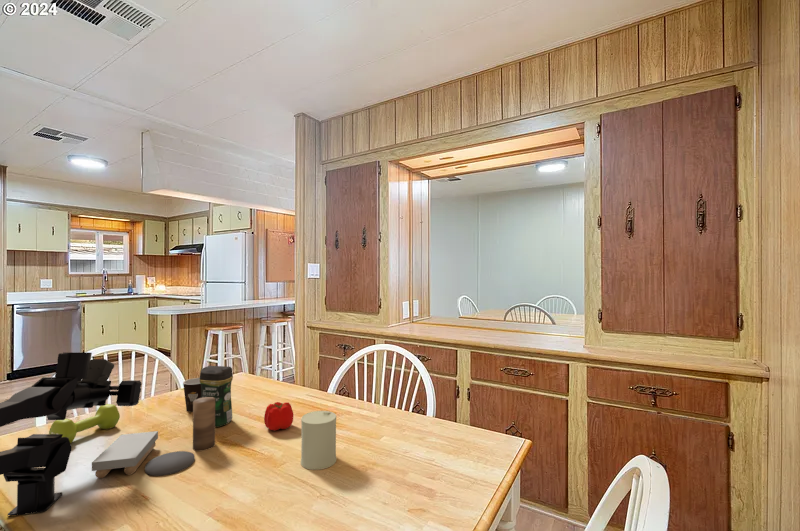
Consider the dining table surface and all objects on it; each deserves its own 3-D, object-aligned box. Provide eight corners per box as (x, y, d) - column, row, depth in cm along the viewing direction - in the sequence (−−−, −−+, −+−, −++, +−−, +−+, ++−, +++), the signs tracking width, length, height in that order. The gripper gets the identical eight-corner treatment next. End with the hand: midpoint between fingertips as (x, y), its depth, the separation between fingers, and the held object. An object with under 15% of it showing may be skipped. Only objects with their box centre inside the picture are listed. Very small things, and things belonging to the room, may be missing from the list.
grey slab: (135, 475, 93) (135, 457, 93) (91, 481, 91) (91, 462, 91) (157, 446, 109) (158, 431, 109) (121, 450, 106) (121, 434, 106)
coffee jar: (194, 427, 122) (194, 368, 122) (210, 417, 130) (210, 362, 130) (222, 429, 121) (222, 369, 121) (236, 419, 129) (236, 363, 129)
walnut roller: (212, 449, 107) (213, 402, 107) (190, 451, 106) (190, 404, 106) (216, 440, 112) (217, 396, 113) (195, 443, 111) (195, 397, 111)
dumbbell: (63, 449, 107) (64, 424, 107) (45, 445, 109) (45, 420, 109) (122, 427, 122) (123, 404, 123) (105, 423, 125) (105, 401, 125)
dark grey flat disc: (188, 472, 95) (188, 469, 95) (137, 478, 92) (137, 475, 92) (199, 451, 106) (199, 449, 106) (153, 456, 103) (153, 453, 103)
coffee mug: (177, 411, 135) (177, 383, 135) (196, 403, 144) (196, 376, 144) (203, 415, 132) (203, 386, 132) (222, 406, 140) (222, 379, 140)
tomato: (294, 431, 119) (295, 407, 119) (264, 435, 116) (264, 410, 116) (291, 420, 128) (291, 397, 128) (263, 424, 125) (263, 401, 125)
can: (343, 457, 102) (343, 412, 103) (319, 473, 94) (320, 424, 95) (317, 449, 107) (317, 406, 107) (293, 464, 99) (293, 417, 99)
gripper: (122, 361, 94) (161, 360, 109) (46, 361, 94) (95, 360, 109) (115, 409, 91) (155, 401, 107) (36, 409, 91) (88, 401, 107)
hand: (123, 390), depth 107 cm, fingers open, 9 cm apart
